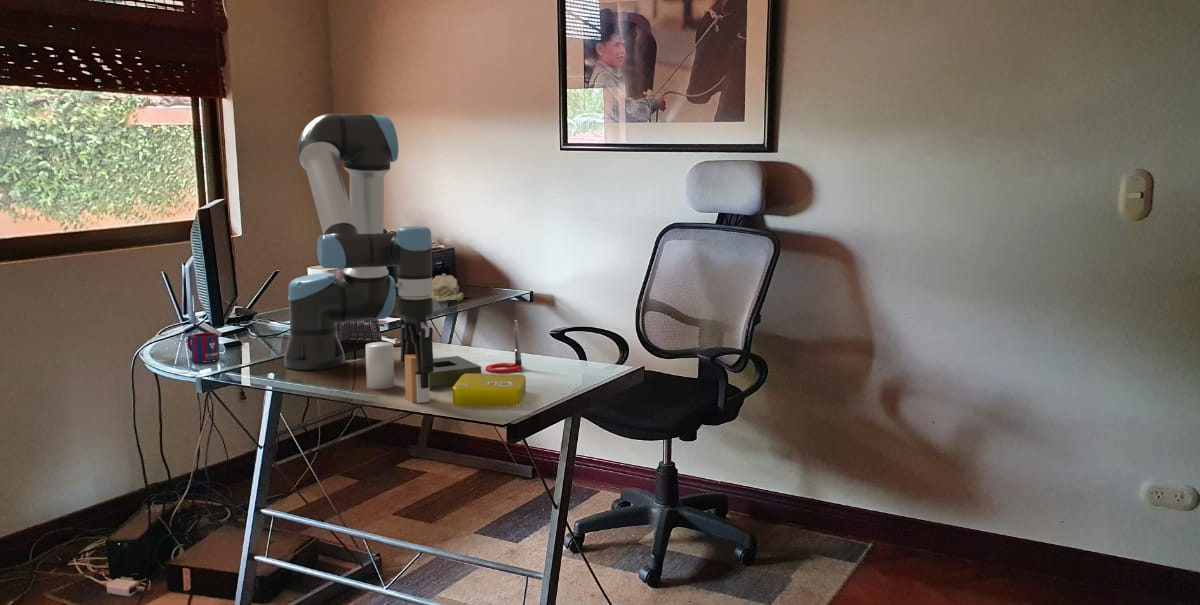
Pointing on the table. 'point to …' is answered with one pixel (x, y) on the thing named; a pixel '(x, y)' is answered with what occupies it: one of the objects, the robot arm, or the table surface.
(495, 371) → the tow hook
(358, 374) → the table surface
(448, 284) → the ceramic model
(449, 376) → the bore block
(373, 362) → the round peg
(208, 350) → the mug
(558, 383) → the table surface
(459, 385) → the element tile
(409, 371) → the square peg
